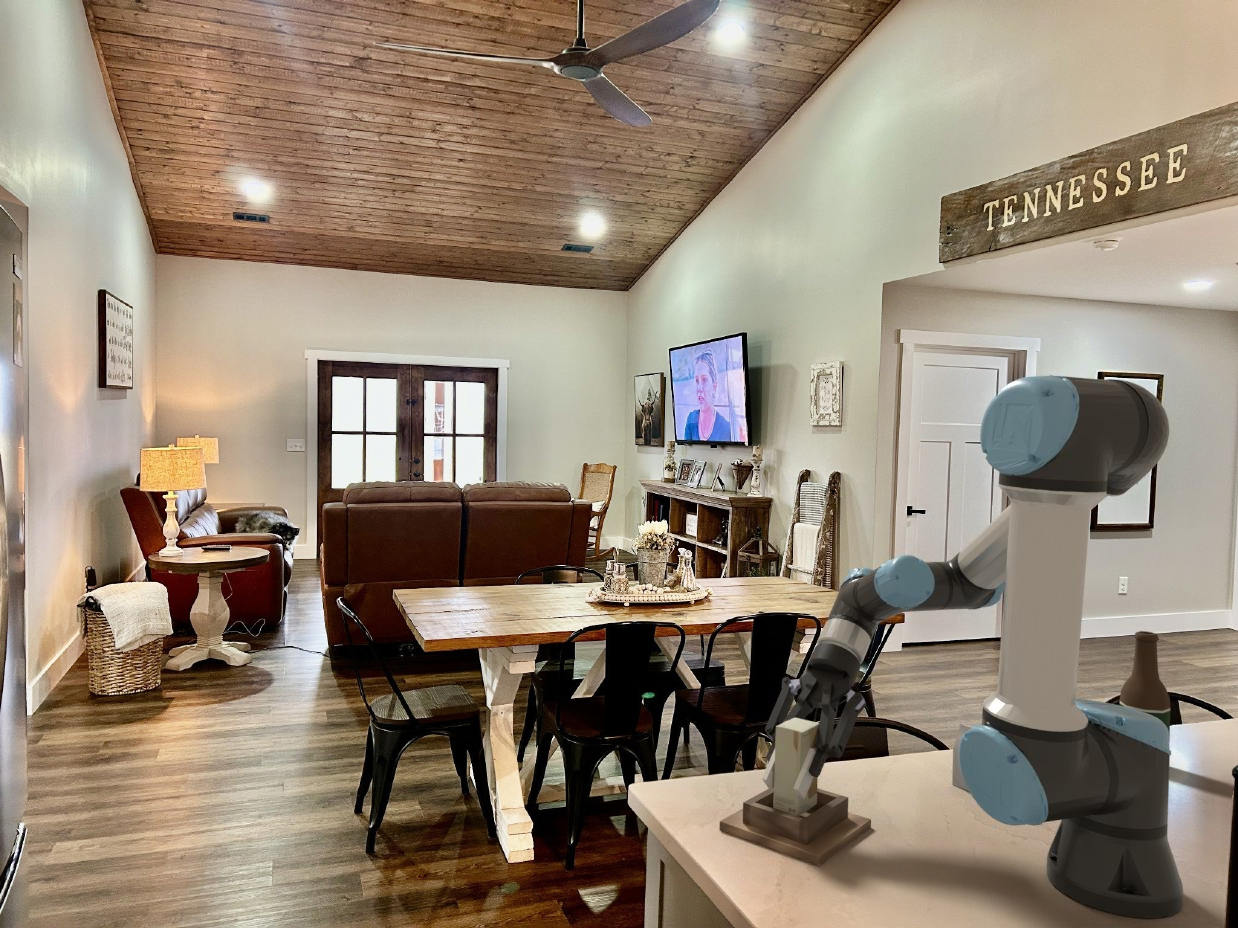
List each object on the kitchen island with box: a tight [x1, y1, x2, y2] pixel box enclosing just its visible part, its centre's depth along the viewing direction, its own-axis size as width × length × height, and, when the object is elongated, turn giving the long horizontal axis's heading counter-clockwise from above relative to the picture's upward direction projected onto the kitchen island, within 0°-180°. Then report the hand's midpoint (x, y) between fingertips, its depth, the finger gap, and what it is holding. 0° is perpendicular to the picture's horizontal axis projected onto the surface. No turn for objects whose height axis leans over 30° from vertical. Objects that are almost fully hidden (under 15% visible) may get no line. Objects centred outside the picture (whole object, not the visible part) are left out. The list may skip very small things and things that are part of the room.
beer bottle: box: [1119, 630, 1171, 742], centre depth 154 cm, size 8×8×24 cm
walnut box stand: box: [719, 787, 872, 866], centre depth 126 cm, size 16×16×4 cm
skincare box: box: [773, 718, 820, 816], centre depth 126 cm, size 6×4×12 cm
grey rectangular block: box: [951, 723, 973, 792], centre depth 142 cm, size 4×7×10 cm, turn 33°
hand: (782, 788), depth 123 cm, fingers closed on skincare box, 4 cm apart
